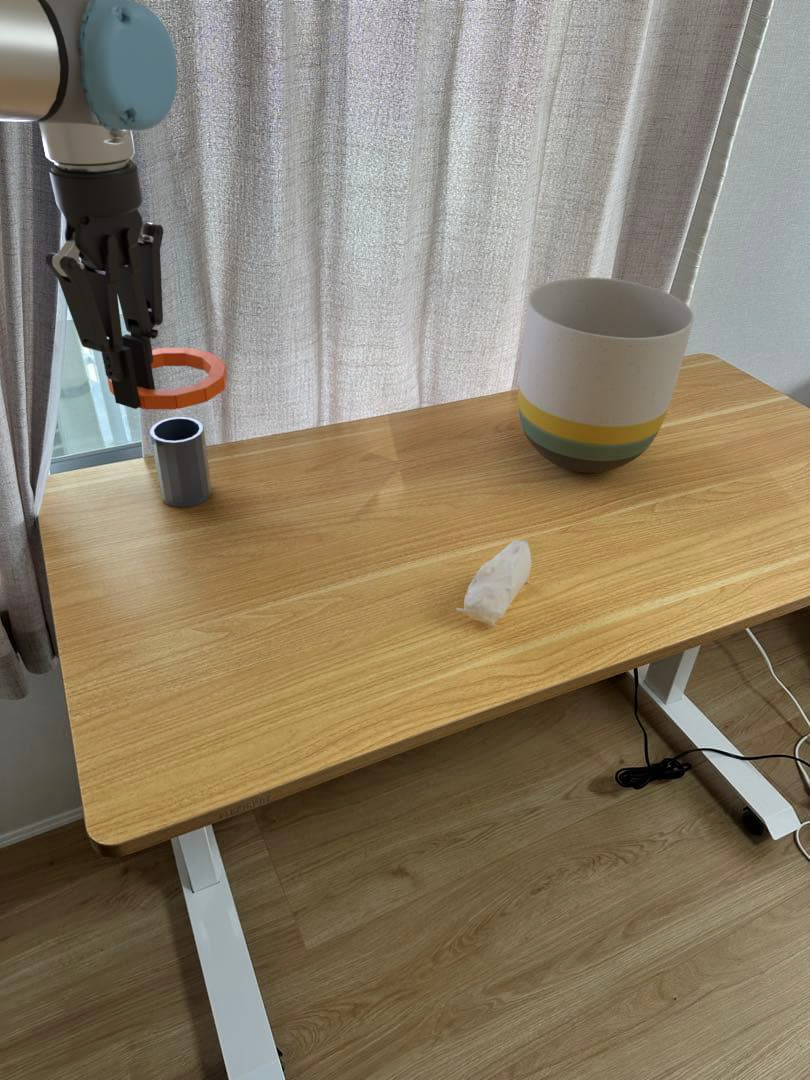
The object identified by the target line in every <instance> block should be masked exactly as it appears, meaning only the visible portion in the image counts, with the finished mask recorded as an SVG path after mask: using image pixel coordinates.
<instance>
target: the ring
mask: <svg viewBox="0 0 810 1080" xmlns="http://www.w3.org/2000/svg"><path fill="white" fill-rule="evenodd" d="M152 353H153V363H152V364H151V367H152V370H154V369H157V368H162V367H188V368H189V367H190V368H193V369H196V370H200V371H204V372H205V373H206V374H207V375H206V376H205V377H204V378H202V379H201V380H199V381H198V382H196V383H193V384H189V385H186V386H185V385H184V386H181V387H177V388H168V389H167V388H166V389H165V388H161V389H159V388H157V389H156V388H155V389H146V388H142V387H138V386H137V388H138V394H139V399H140V405H141V406H140V407H139V408H138V409H142V410H180V409H184V408H187V407H188V408H189V407H192V406H195V405H200V404H204V403H206V402H209V401H210V400H212V399H213V398H215V397H216V396H218V395H219V394H221V393H223V392H224V391H225V390H226V384H227V380H228V370H227V364H226V363H225V362H224V361H223V360H222V359H220V357H218V356H217V355H216V354H215V353H212V352H208V351H205V350H201V349H196V348H192V347H158V348H154V349H153V348H152ZM106 378H107V384H108V388H109V389H108V390H109V392H110V393H111V394H112V395H113V396H114V391H113V386H112V381H111V379H108V377H107V376H106Z"/></svg>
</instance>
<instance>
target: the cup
mask: <svg viewBox="0 0 810 1080" xmlns="http://www.w3.org/2000/svg"><path fill="white" fill-rule="evenodd" d="M149 433H150V440H151V445H152V451H153V457H154V463H155V468H156V469H155V470H156V474H157V480H158V485H159V486H158V487H159V491H160V496H161V497H160V498H161V500H162V501H163V502H164V503H165V504H166V505H168V506H170V507H173V508H180V509H181V508H182V509H183V508H191V507H196V506H199V505H201V504H203V503H205V502H206V501H208V500H209V499H210V497H211V495H212V481H211V474H210V466H209V457H208V450H207V444H206V442H207V441H206V436H205V428H204V424H203V423H202V422H200V421H199V420H198V419H196V418H192V417H187V416H174V417H168V418H165V419H162V420H160V421H157V422H156V423H154V424H153V425H152V426H151V428H150V430H149Z"/></svg>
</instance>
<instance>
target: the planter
mask: <svg viewBox="0 0 810 1080" xmlns="http://www.w3.org/2000/svg"><path fill="white" fill-rule="evenodd" d="M694 320H695V319H694V313H693V311H692V309H691V308H690V306H688V305H687V304H686V302H684V301H683V300H681V299H679V298H678V297H677V296H675V295H672V294H670V293H668V292H666V291H664V290H661V289H658V288H657V287H653V286H651V285H650V286H649V285H646V284H642V283H637V282H634V281H629V280H622V279H615V278H606V277H569V278H563V279H556V280H551V281H549V282H546V283H542V284H541V285H539V286H537V287H535V288H534V289H533V290H532V291H531V292H530V293H529V295H528V298H527V305H526V312H525V320H524V327H523V328H524V329H523V336H522V345H521V354H520V364H519V376H518V387H517V405H518V406H517V407H518V415H519V421H520V425H521V428H522V431H523V433H524V435H525V437H526V439H527V440H528V441H529V443H530V444H531V446H532V447H533V448H534V449H535V451H537V453H539V454H540V455H541V456H542V457H544V458H545V459H546V460H548V461H549V462H550V463H552V464H554V465H556V466H558V467H560V468H563V469H564V470H565V469H566V470H568V471H572V472H577V473H583V474H584V473H586V474H595V473H605V472H609V471H612V470H616V469H618V468H621V467H624V466H626V465H627V464H629V463H631V462H633V461H634V460H635V459H638V458H639V457H640V456H641V455H642V454H643V453H645V452H646V451H647V450H648V448H649V447H650V446H651V444H652V443H653V442H654V440H655V439H656V437H657V435H658V433H659V431H660V430H661V428H662V426H663V424H664V421H665V419H666V416H667V414H668V410H669V407H670V404H671V401H672V398H673V394H674V391H675V388H676V385H677V381H678V377H679V375H680V372H681V368H682V364H683V362H684V361H683V360H684V357H685V354H686V350H687V346H688V342H689V340H690V335H691V332H692V327H693V324H694Z"/></svg>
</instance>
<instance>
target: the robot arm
mask: <svg viewBox="0 0 810 1080" xmlns="http://www.w3.org/2000/svg"><path fill="white" fill-rule="evenodd" d="M177 66H178V58H177V53H176V50H175V47H174V44H173V40H172V38H171V35H170V34H169V32H168V29H167V27H166V26H165V24H164V23H163V22H162V20H161V19H160V17H158V15H157V14H155V13H154V12H153V11H152V10H151V9H149V8H148V7H147V6H146V5H144V4H143V3H139V2H137V1H134V0H0V122H31V123H36V124H37V123H38V126H39V130H40V135H41V139H42V145H43V149H44V155H45V158H47V159H48V161H50V162H52V164H51V165H50V168H49V169H48V171H49V177H50V182H51V185H52V190H53V195H54V199H55V204H56V206H57V208H58V209H59V211H60V212H61V214H62V215H63V217H64V221H65V228H64V233H63V234H64V240H65V243H64V244H63V246H62V247H60V248H61V249H60V250H59V251H58V252H57V253H54V252H49V253H47V254H46V256H45V263H46V265H47V266H48V267H49V269H50V270H51V271H52V273H53V274H54V275H55V277H56V278H57V280H58V282H59V287H60V288H61V291H62V295H63V296H64V299H65V302H66V304H67V307H68V311H69V313H70V316H71V319H72V321H73V325H74V327H75V331H76V332H77V335H78V336H77V337H78V338H79V341H80V344H81V346H82V347H83V348H85V349H89V350H93V351H96V352H100V353H101V356H102V361H103V367H104V371H105V376H106V378H107V377H108V379H111V381H112V386H113V391H114V395H113V396H114V400H115V404H118V405H122V406H124V407H128V408H131V409H134V410H137V409H140V408H139V407H140V406H141V405H140V399H139V394H138V388H137V386H138V387H142V388H146V389H156V386H155V380H154V374H153V369H152V367H151V364H152V363H153V353H152V350H153V347H152V341H151V339H153V340H155V339H156V338H157V337H158V335H159V330H158V329H154V327H155V326H161V325H162V323H163V322H164V311H163V310H164V309H163V291H162V290H163V287H162V286H163V285H162V265H161V264H162V263H161V247H162V241H163V236H164V227H163V226H162V225H160V224H156V223H152V222H147V221H145V220H143V217H142V214H141V212H140V211H139V208H140V207H141V206H142V204H143V193H142V186H141V179H140V174H139V167H138V165H137V164H135V162H134V161H133V160H131V159H132V158H133V157H134V155H136V154H135V153H136V152H135V151H136V150H135V144H134V138H133V132H145V131H148V130H152V129H153V128H155V127H156V126H158V125H160V124H161V123H162V122H163V120H165V118H167V116H168V115H169V114H170V111H171V109H172V107H173V104H174V101H175V98H176V95H177V90H178V85H179V84H178V83H179V82H178V79H177V77H178V69H177ZM132 131H133V132H132ZM149 309H150V310H149ZM120 311H121V312H120ZM120 313H121V314H122V319H123V322H124V325H125V329H126V331H127V332H128V333H130V334H124V335H123V331H122V323H121V315H120ZM108 379H107V380H108Z"/></svg>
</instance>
